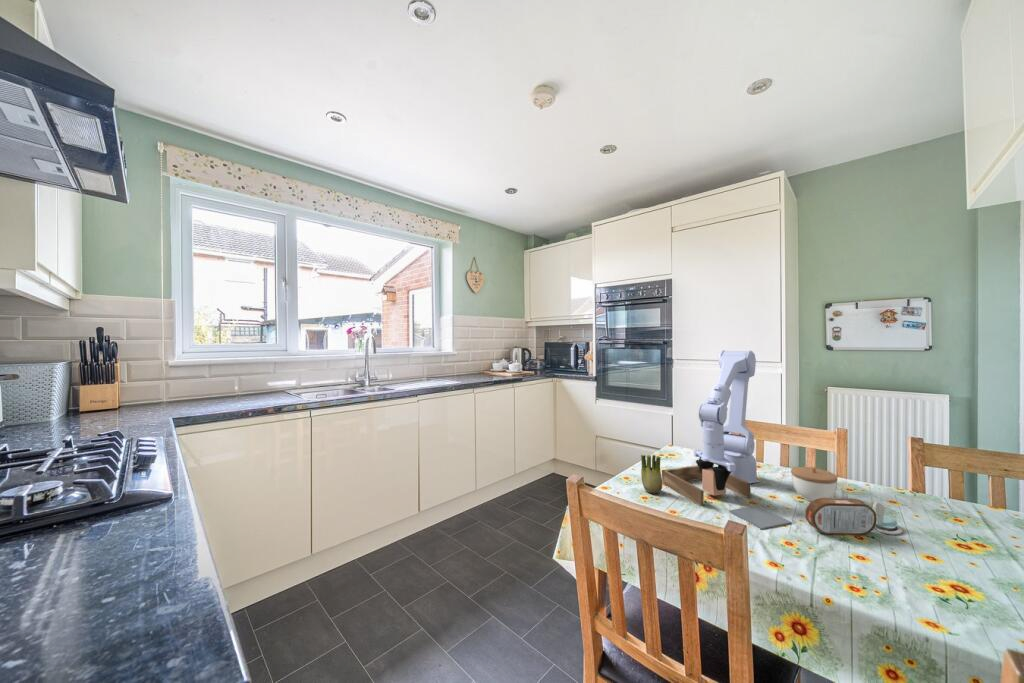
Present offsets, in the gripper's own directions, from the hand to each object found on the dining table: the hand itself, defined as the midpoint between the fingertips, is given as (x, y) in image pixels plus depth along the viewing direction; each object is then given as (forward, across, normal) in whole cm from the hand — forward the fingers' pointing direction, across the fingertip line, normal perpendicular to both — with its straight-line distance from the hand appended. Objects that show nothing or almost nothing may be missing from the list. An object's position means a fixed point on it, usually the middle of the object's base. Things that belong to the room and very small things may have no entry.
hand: (714, 486), depth 114 cm
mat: (+3, +15, +1) cm, 15 cm away
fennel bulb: (+3, -8, -16) cm, 18 cm away
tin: (+3, +26, +13) cm, 30 cm away
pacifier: (+3, +28, +25) cm, 38 cm away
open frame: (+3, -4, 0) cm, 5 cm away
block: (+2, 0, 0) cm, 2 cm away
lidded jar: (+3, +10, +26) cm, 28 cm away
